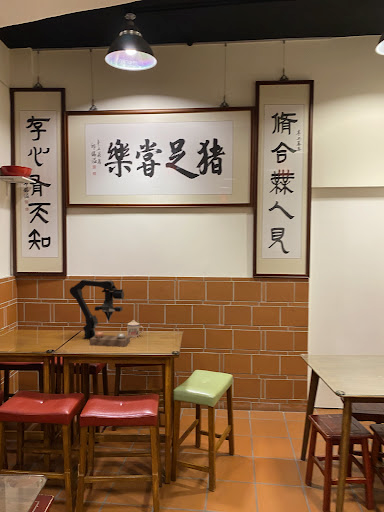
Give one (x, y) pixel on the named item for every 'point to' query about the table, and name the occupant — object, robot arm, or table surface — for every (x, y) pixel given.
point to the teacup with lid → (133, 329)
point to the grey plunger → (121, 336)
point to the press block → (109, 341)
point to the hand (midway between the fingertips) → (108, 320)
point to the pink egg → (99, 334)
